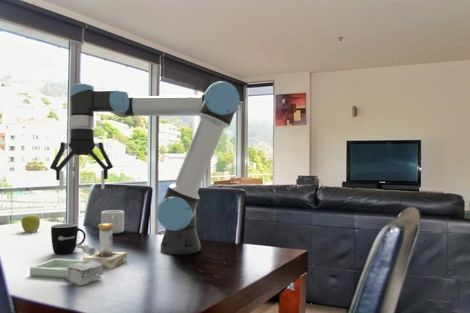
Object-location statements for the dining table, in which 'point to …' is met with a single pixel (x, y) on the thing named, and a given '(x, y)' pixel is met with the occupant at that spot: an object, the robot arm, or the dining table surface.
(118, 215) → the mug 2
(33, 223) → the apple
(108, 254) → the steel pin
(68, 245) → the mug
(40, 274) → the tray
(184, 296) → the dining table surface
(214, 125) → the robot arm
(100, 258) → the socket block
